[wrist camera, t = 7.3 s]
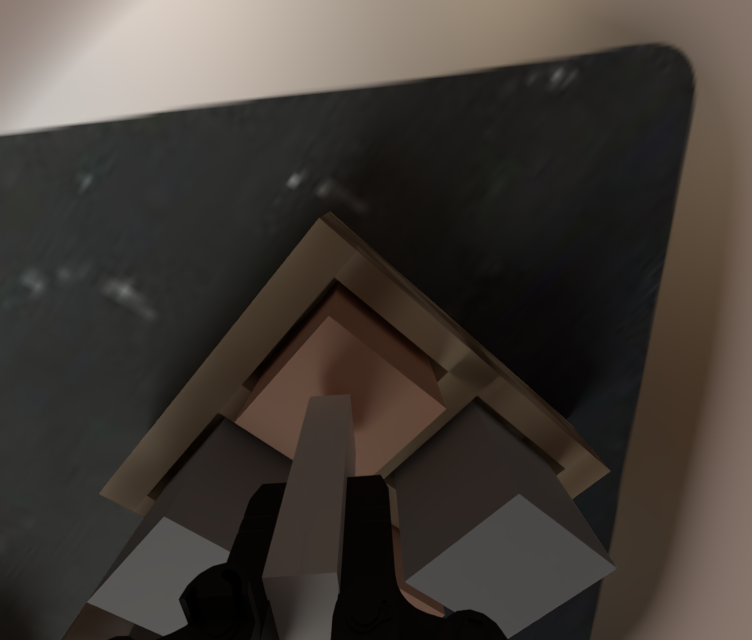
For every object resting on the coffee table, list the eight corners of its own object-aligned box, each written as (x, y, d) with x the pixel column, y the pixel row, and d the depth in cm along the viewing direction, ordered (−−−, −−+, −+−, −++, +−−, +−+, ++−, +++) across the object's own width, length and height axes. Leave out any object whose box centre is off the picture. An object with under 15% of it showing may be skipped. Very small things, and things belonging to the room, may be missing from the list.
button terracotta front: (272, 356, 20) (234, 422, 14) (340, 276, 18) (329, 315, 13) (354, 415, 21) (349, 496, 16) (424, 346, 20) (446, 408, 14)
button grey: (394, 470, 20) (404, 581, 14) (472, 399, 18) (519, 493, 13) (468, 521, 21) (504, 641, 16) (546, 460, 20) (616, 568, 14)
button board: (121, 470, 24) (-94, 716, 13) (330, 211, 19) (272, 245, 7) (348, 595, 29) (335, 853, 18) (566, 420, 23) (749, 633, 12)
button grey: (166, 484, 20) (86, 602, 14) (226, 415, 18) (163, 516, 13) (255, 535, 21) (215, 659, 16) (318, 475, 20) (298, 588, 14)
